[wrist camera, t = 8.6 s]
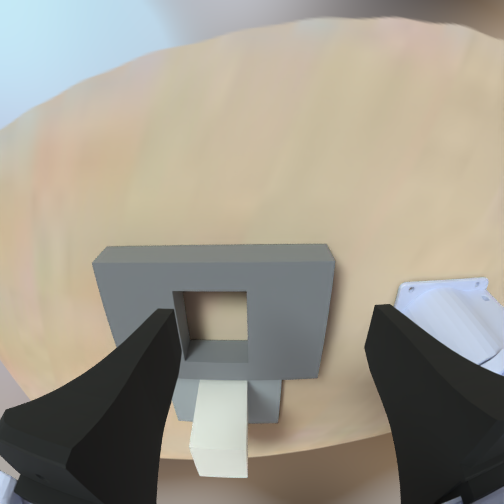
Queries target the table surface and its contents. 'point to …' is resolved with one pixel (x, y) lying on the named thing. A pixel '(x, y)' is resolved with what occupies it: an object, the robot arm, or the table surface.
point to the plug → (221, 429)
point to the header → (227, 279)
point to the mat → (259, 400)
